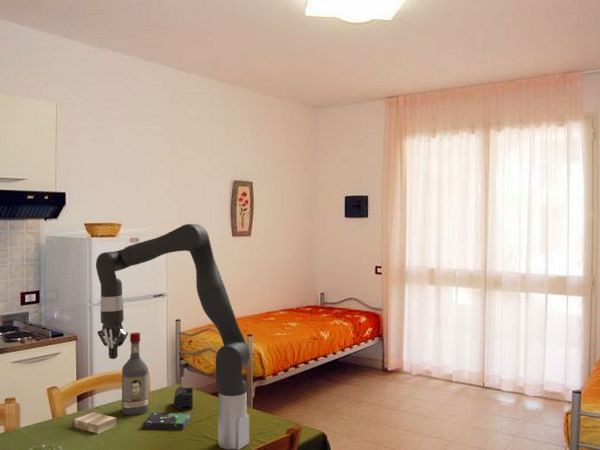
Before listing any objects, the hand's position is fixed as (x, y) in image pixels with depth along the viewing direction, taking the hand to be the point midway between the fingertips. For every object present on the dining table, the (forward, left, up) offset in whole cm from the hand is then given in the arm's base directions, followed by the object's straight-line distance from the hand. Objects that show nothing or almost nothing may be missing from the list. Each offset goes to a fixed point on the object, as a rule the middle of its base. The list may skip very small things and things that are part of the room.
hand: (113, 358), depth 182 cm
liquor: (+8, -18, -26) cm, 32 cm away
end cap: (-5, -31, -26) cm, 40 cm away
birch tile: (+3, 0, -24) cm, 24 cm away
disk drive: (-12, -14, -26) cm, 32 cm away
